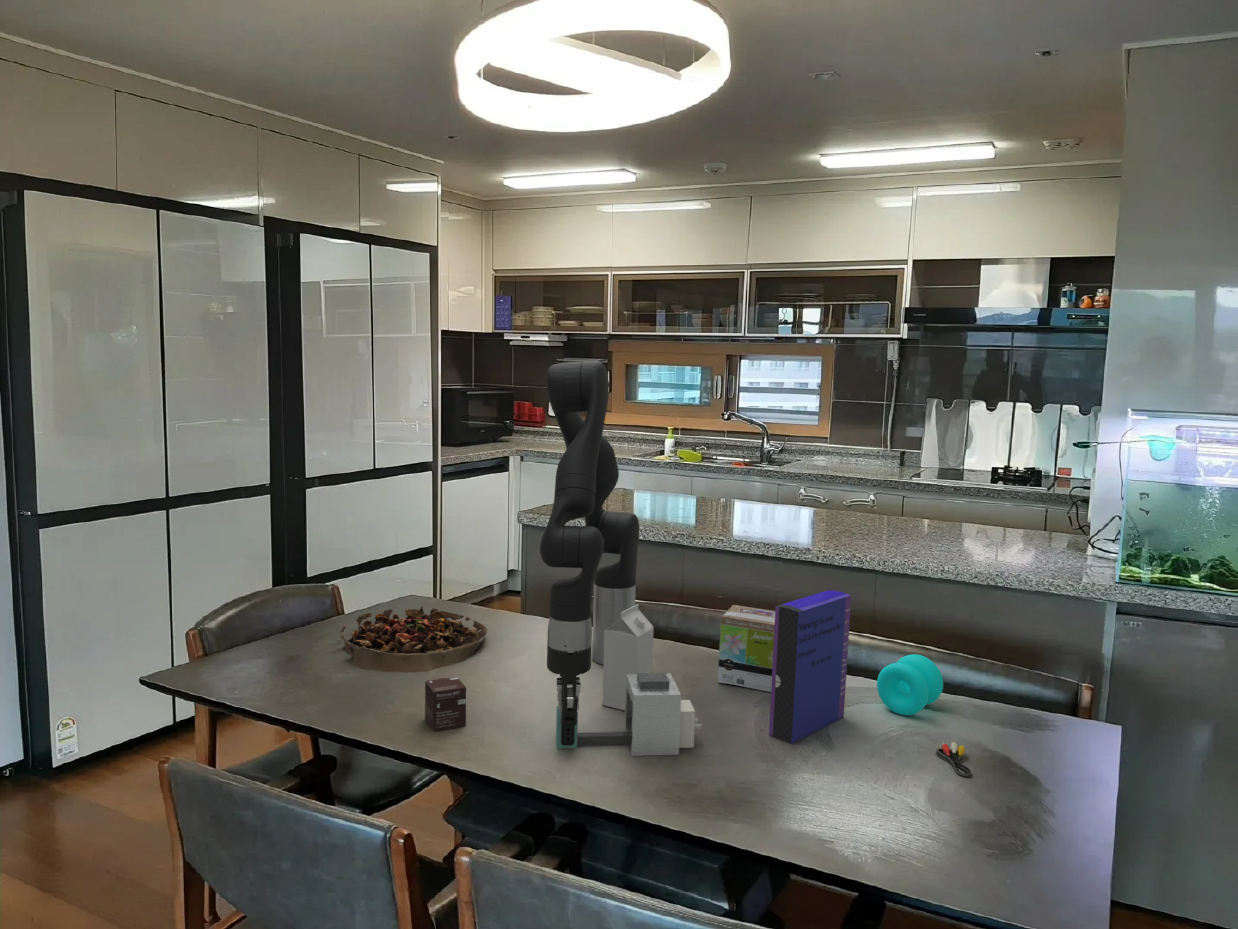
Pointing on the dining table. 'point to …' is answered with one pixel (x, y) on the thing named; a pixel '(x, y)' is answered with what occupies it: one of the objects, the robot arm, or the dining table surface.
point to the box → (445, 703)
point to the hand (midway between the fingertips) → (566, 738)
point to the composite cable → (954, 758)
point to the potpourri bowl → (412, 641)
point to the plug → (625, 737)
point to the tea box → (747, 647)
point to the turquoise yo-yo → (909, 684)
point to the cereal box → (809, 664)
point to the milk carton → (625, 654)
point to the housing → (653, 713)
